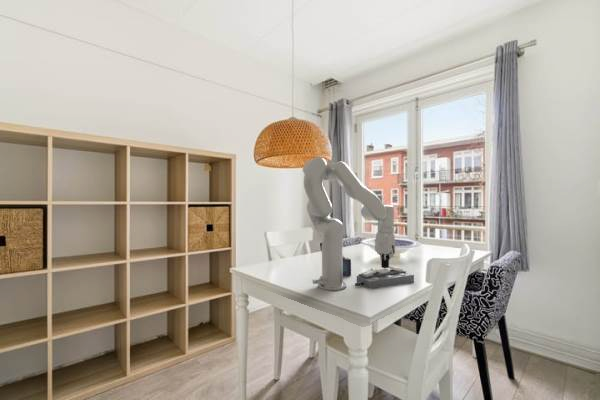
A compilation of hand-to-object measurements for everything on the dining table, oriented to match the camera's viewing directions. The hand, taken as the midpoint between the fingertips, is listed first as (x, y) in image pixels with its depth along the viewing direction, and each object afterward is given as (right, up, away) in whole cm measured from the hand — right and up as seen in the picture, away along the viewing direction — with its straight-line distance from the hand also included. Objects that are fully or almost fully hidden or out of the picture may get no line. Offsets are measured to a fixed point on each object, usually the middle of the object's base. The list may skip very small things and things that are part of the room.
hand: (385, 267), depth 135 cm
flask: (-19, -7, +11) cm, 23 cm away
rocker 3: (+6, -2, +2) cm, 7 cm away
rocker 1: (-9, -2, -4) cm, 10 cm away
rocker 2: (-1, -2, -1) cm, 2 cm away
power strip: (-2, -7, -3) cm, 8 cm away
